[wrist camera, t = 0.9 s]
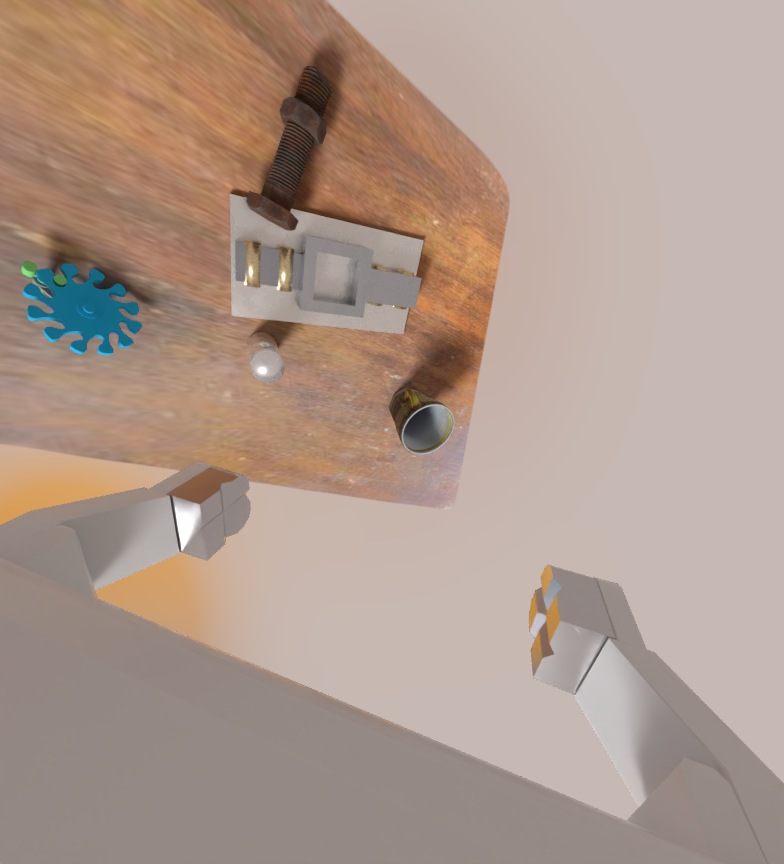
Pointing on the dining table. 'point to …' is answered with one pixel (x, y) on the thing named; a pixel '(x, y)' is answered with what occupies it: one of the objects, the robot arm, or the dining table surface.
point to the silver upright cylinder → (265, 357)
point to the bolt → (293, 148)
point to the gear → (79, 307)
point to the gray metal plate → (321, 271)
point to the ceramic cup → (420, 421)
